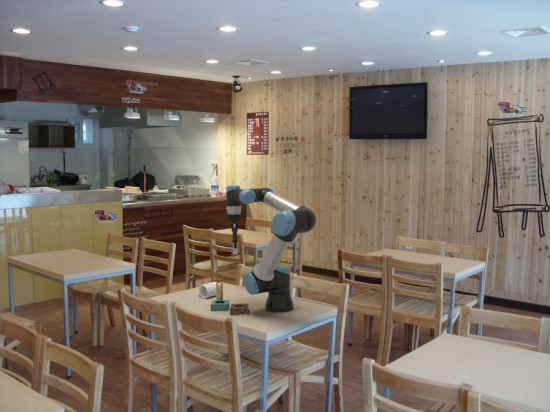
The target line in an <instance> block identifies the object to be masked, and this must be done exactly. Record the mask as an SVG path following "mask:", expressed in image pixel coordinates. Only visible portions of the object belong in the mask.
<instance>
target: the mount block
mask: <svg viewBox="0 0 550 412" xmlns="http://www.w3.org/2000/svg"><path fill="white" fill-rule="evenodd" d="M229 307H230V308H229V311H230V313H229V314H230V316H239V315H238V314H249V303H248V302H247V303H231V305H230V306H229Z"/></svg>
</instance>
